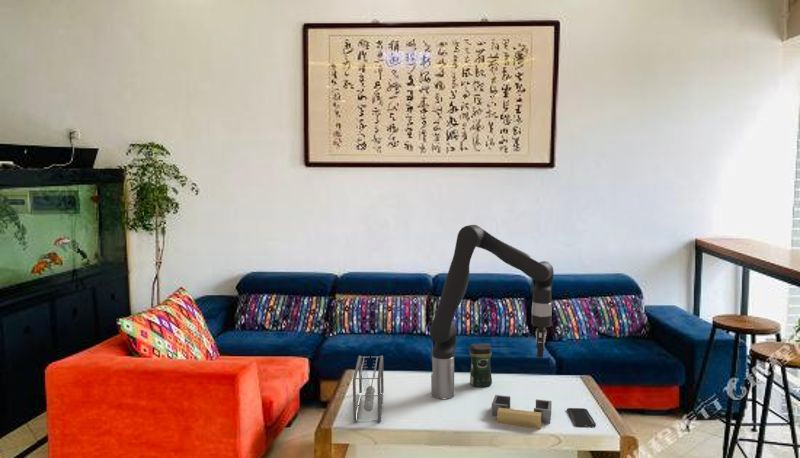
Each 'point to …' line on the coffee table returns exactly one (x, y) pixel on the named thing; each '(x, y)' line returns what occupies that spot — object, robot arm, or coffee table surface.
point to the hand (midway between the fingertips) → (540, 353)
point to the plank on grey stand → (541, 407)
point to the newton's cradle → (370, 390)
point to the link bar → (519, 418)
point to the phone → (581, 417)
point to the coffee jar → (480, 365)
